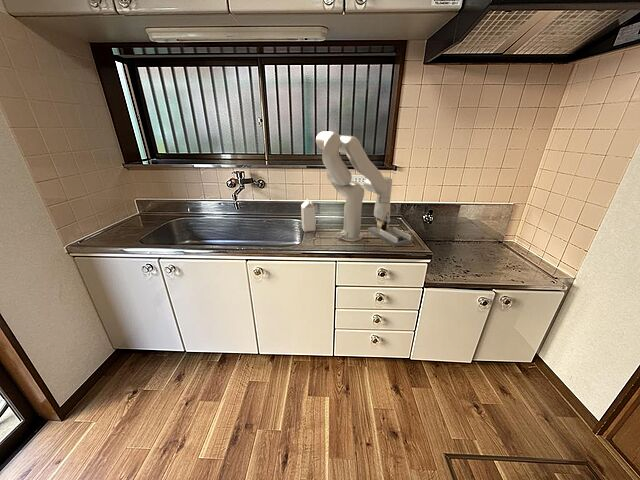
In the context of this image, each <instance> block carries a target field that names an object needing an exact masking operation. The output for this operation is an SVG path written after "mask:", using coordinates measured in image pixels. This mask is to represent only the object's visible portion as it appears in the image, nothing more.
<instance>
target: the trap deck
mask: <svg viewBox="0 0 640 480" xmlns="http://www.w3.org/2000/svg"><path fill="white" fill-rule="evenodd" d="M367 232H369V233H370V234H372V235H373V236H376V237H377V238H379V239H380V240H382V241H383V242H385V243H387V244H388V245H390V246H392V247H393V248H394V247H395V248H396V247H399V246H405V245H409V244H412V243H413V239H412V235H411V234H409V233H406V232H405V231H403V230H401V229H399V228H397V227H395V226H393V227H392V228H391V227H388V230H385V231H384V230H382V229H380V230H379V229H378V228H376V225H375V226H371V227H368V228H367Z"/></svg>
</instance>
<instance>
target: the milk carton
mask: <svg viewBox="0 0 640 480" xmlns="http://www.w3.org/2000/svg"><path fill="white" fill-rule="evenodd" d="M300 210H301V211H300V212H301V213H300V214H301V215H300V217H301V228H302V230H303V232H305V233H306V232H315V231H316V207H315V205H314V202H313V201H311V200H309V199H308V198H306V200H304V201H303V203H301V205H300Z"/></svg>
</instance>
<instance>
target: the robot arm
mask: <svg viewBox="0 0 640 480" xmlns="http://www.w3.org/2000/svg"><path fill="white" fill-rule="evenodd" d="M315 143H316V145H317V147H318V148H319V149H321V150H322V153H321V155H322V157H321V159H322V163H323V166H324V167H325V168H326V170H327V172H326V177H327V180H328V181H329V183H330V184H331V185H332V186H333V188H334V189H335V191H337V193H338V194H339V195H340V196H342V197H345V198H346V200H345V202H344V207H343V229H341V231H339V232H335V236H336V237H340V238H341V240H343V241H346V242H359V241H361V240H362V239H363V237H364V235H363V234H362V233H361V226H362V225H361V221H362V209H363V208H362V207H363V200H364V196H365V190H366V191H368V192H370V193H374V194H376V200H375V203H374V210H373V216H374V218H375V226H376V228H377V220H382V223H383V224H382V227H381V229H382V230H384V231H385V230H386V227H387V224H388V223H389V224H390V222H391V218H390V217H391V198H392V197H391V196H392V189H393V188H392V187H393V178H391V177H388V176H383V173H382V172H381V171H380V169H378V167H376V165H375V164H374V163H373V162H372V161H371V160H370V159H369V157H368V155H367V154H366V151H365V150H364V147H363V146H362V144H361V142H360V140H359V139H358V138H357V137H356V136H353V135H342V134H338V132H336V131H330V130H329V131H327V130H325V131H324V130H323V131H320V132H319V133H318V134H317V135H316V138H315ZM341 153H342V154H345V155H346V157H347V159H348V160H349V161H350V164H351V165H352V167H353V168H354V170H356V172H357V173H359V174H360V175H362V176H363V177H364V178H366V179H365V180H364V182H363V185H362V184H360V183H359V182H356V181H353V180H352V179H353V175H352V173H351V171H350V169H349V168H348V167H347V165H346V164H345V162H344V161H343V160H342V158H341V156H340V154H341ZM384 220H385V222H384Z"/></svg>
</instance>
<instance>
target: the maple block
mask: <svg viewBox="0 0 640 480" xmlns="http://www.w3.org/2000/svg"><path fill="white" fill-rule="evenodd" d="M384 222H385V220H384ZM382 224H383V223H382V220H377V228H378V229H379V230H380V229H381V227H382ZM389 224H390V222H389V223H388V224H387V227H386V230H388V227H389V226H390V225H389ZM389 228H390V227H389Z"/></svg>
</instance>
